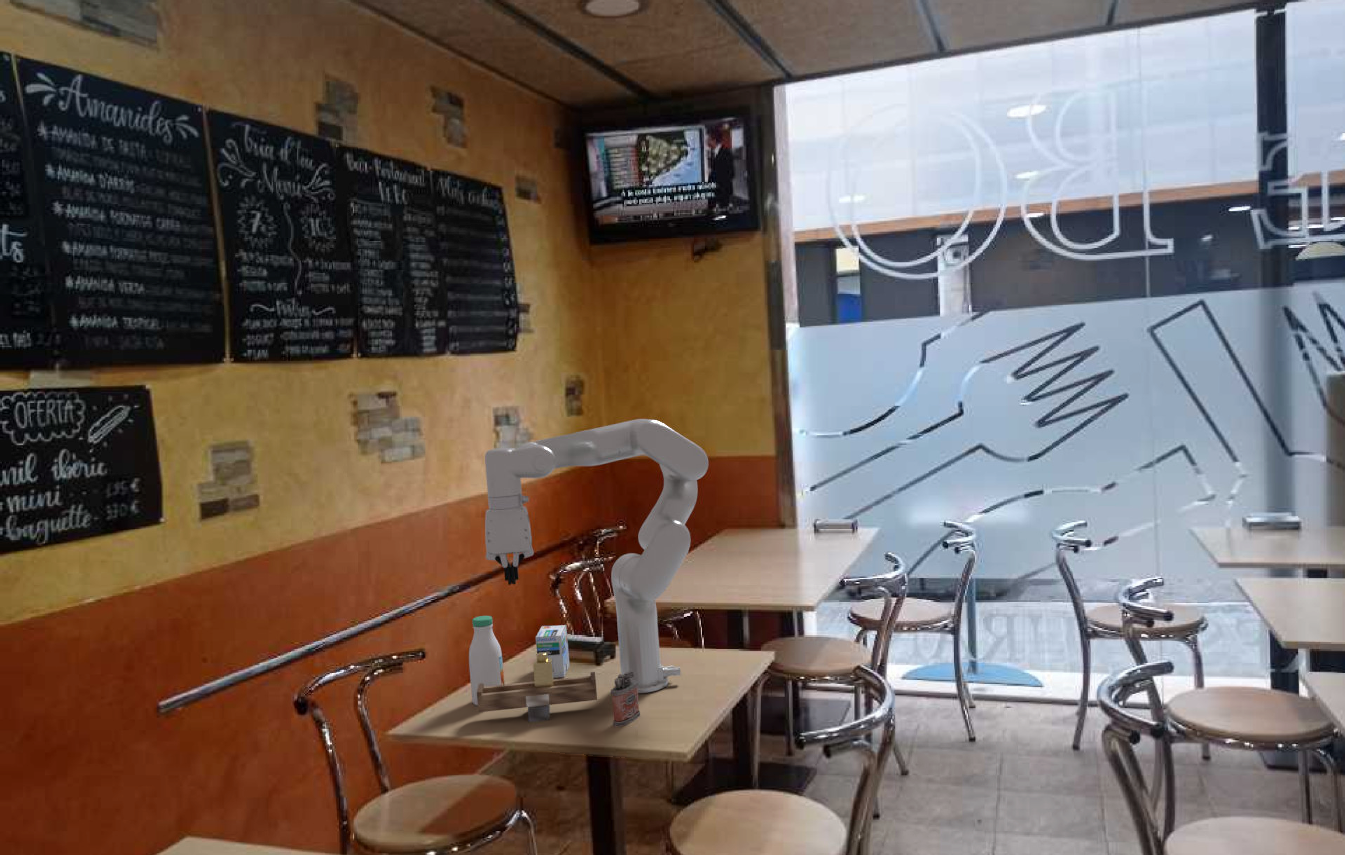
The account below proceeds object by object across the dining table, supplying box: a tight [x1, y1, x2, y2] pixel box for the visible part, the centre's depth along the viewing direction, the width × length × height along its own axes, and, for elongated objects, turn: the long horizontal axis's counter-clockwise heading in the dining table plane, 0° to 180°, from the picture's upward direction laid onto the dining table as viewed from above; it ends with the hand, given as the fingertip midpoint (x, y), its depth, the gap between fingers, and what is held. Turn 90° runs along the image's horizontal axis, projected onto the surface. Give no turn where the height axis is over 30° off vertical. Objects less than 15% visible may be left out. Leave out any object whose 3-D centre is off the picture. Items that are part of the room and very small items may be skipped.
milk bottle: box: [468, 615, 506, 707], centre depth 234 cm, size 8×8×20 cm
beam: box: [477, 671, 598, 723], centre depth 222 cm, size 26×8×8 cm, turn 96°
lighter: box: [610, 671, 641, 727], centre depth 215 cm, size 8×3×10 cm, turn 148°
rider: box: [532, 652, 554, 688], centre depth 222 cm, size 4×3×8 cm
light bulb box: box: [535, 624, 570, 679], centre depth 253 cm, size 11×7×11 cm, turn 179°
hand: (512, 583), depth 225 cm, fingers closed
